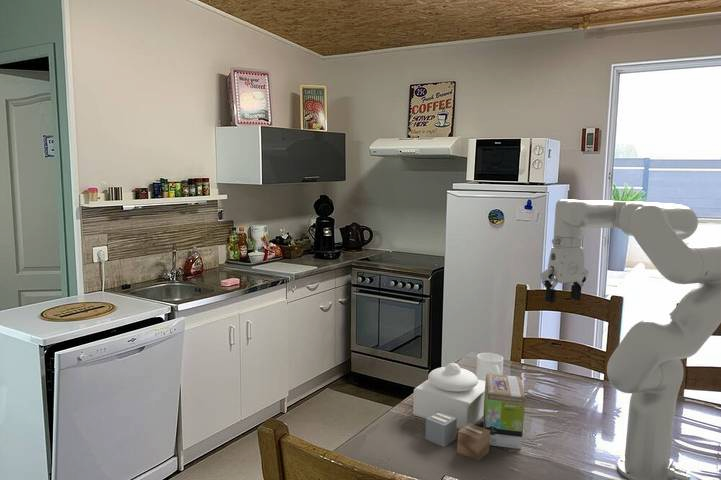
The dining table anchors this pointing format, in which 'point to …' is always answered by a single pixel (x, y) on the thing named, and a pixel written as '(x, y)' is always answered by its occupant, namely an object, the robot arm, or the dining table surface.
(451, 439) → the slate marked block
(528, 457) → the dining table surface
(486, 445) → the walnut marked block
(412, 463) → the dining table surface
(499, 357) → the mug
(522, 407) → the tea box
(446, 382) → the butter dish
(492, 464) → the dining table surface
